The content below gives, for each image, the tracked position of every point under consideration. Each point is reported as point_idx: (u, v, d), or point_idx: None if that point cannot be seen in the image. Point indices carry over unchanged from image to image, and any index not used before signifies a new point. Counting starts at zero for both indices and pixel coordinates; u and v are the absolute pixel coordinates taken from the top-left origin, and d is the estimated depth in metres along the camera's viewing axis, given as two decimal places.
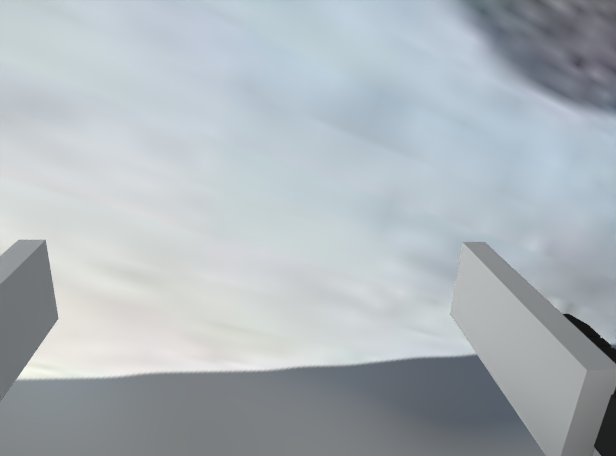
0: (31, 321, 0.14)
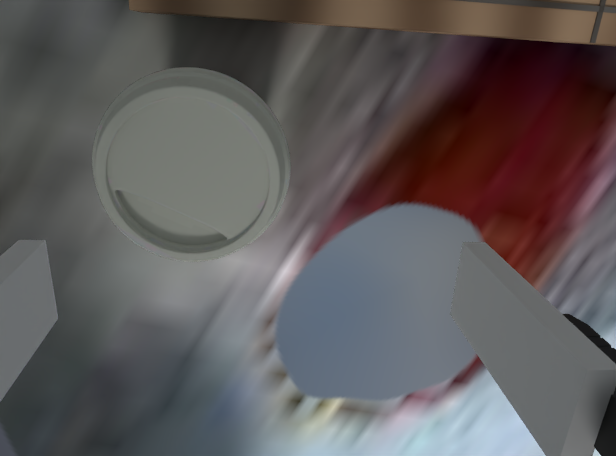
0: (31, 321, 0.14)
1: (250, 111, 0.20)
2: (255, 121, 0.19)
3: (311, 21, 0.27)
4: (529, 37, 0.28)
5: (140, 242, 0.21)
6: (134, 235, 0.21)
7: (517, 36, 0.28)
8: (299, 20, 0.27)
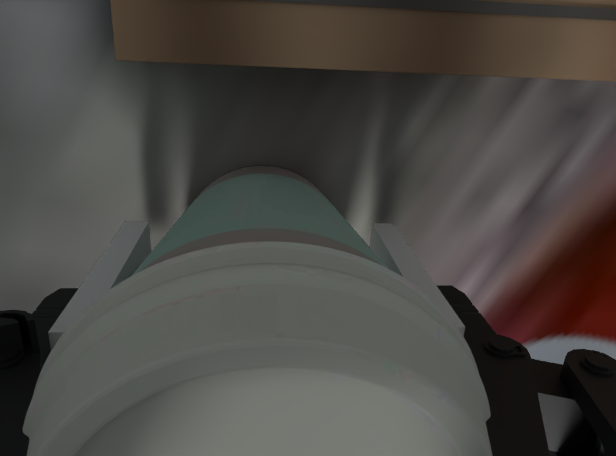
0: None
1: (440, 380, 0.07)
2: (456, 408, 0.07)
3: (458, 72, 0.14)
4: None
5: None
6: None
7: None
8: (436, 71, 0.14)
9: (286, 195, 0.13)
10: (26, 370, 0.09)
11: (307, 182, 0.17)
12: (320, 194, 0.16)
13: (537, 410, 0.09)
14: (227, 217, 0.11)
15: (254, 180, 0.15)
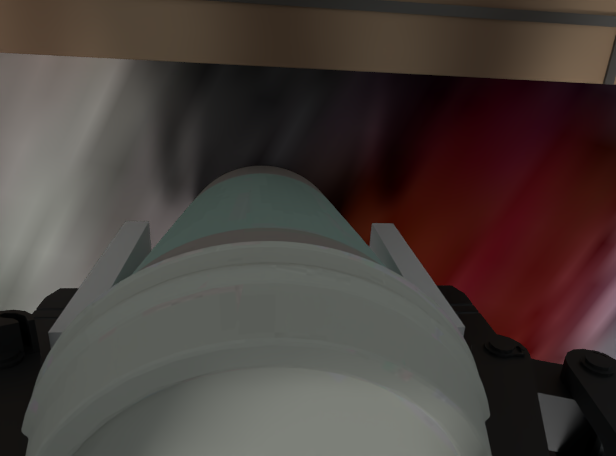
0: None
1: (439, 380, 0.07)
2: (455, 409, 0.07)
3: (61, 53, 0.14)
4: (490, 76, 0.15)
5: None
6: None
7: (467, 74, 0.15)
8: (36, 51, 0.14)
9: (286, 195, 0.13)
10: (26, 370, 0.09)
11: (307, 182, 0.17)
12: (320, 194, 0.16)
13: (537, 410, 0.09)
14: (226, 217, 0.11)
15: (254, 180, 0.15)
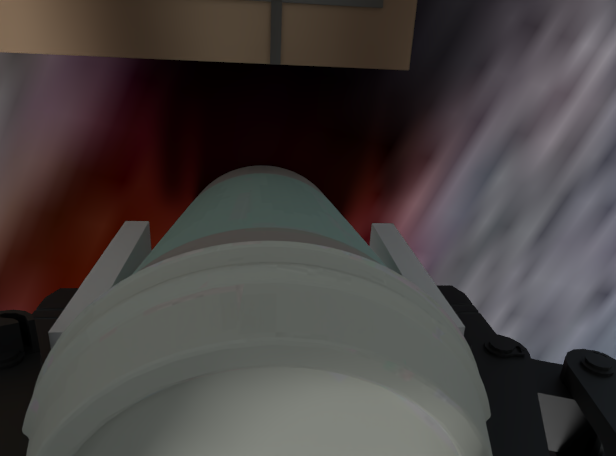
0: None
1: (440, 380, 0.07)
2: (456, 408, 0.07)
3: None
4: (138, 56, 0.14)
5: None
6: None
7: (111, 54, 0.14)
8: None
9: (286, 195, 0.13)
10: (26, 370, 0.09)
11: (307, 182, 0.17)
12: (320, 194, 0.16)
13: (537, 410, 0.09)
14: (227, 216, 0.11)
15: (254, 180, 0.15)
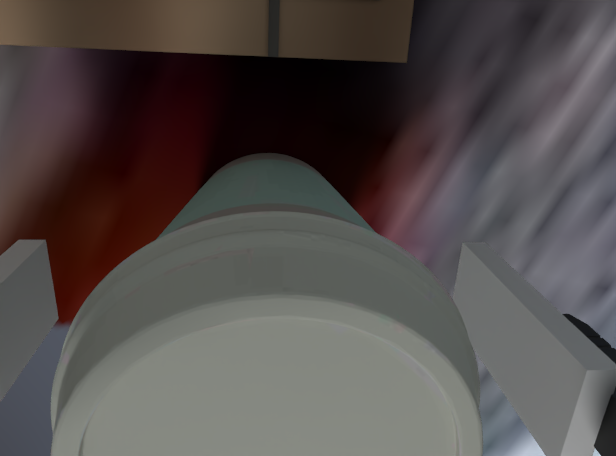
0: (31, 321, 0.14)
1: (430, 333, 0.08)
2: (444, 359, 0.08)
3: None
4: (136, 48, 0.14)
5: None
6: None
7: (110, 47, 0.14)
8: None
9: (291, 177, 0.14)
10: None
11: (311, 168, 0.18)
12: (323, 179, 0.17)
13: None
14: (237, 195, 0.11)
15: (261, 165, 0.16)
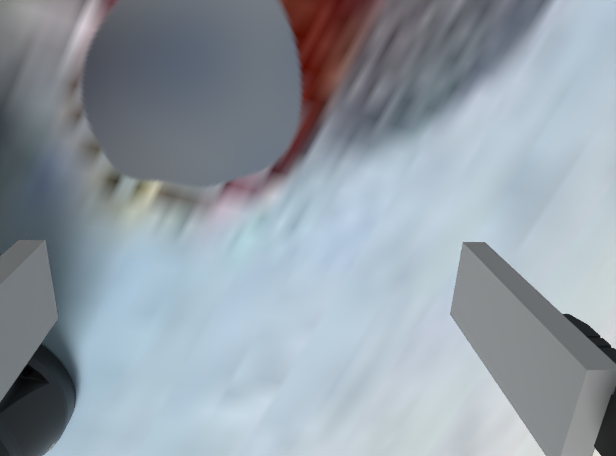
0: (31, 321, 0.14)
1: None
2: None
3: None
4: None
5: None
6: None
7: None
8: None
9: None
10: None
11: None
12: None
13: None
14: None
15: None
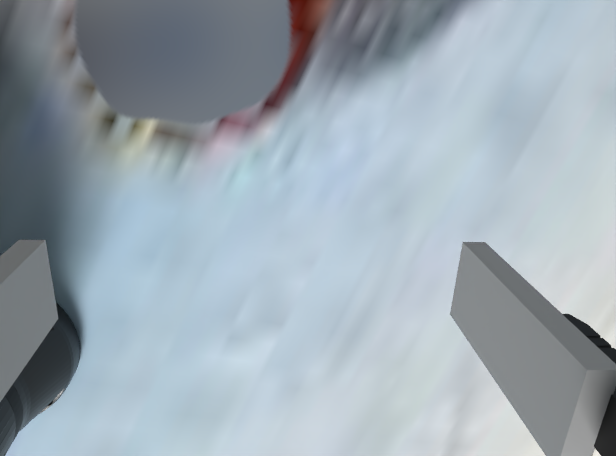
0: (31, 321, 0.14)
1: None
2: None
3: None
4: None
5: None
6: None
7: None
8: None
9: None
10: None
11: None
12: None
13: None
14: None
15: None
